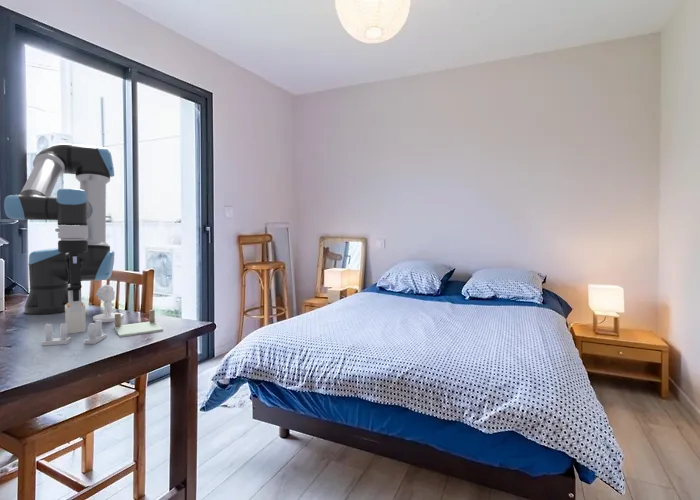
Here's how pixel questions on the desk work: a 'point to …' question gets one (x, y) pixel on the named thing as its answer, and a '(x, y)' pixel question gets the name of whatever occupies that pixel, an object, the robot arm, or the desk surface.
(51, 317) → the desk surface
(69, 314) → the connector
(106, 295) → the figurine
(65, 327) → the clip
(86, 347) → the desk surface
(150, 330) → the holder
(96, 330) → the clip
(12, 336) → the desk surface
